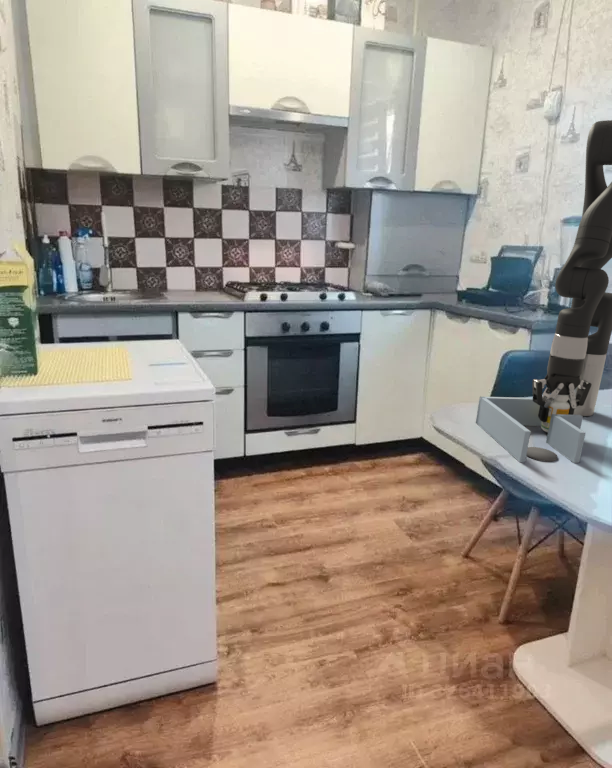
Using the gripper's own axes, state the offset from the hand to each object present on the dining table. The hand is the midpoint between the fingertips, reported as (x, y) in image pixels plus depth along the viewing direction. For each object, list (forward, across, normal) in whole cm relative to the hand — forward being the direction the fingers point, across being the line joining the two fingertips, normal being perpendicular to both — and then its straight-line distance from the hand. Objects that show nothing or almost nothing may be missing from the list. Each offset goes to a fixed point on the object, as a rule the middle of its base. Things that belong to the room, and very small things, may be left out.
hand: (554, 420), depth 132 cm
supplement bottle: (+3, 0, 0) cm, 3 cm away
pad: (+3, +10, +13) cm, 17 cm away
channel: (+3, +7, +5) cm, 10 cm away
